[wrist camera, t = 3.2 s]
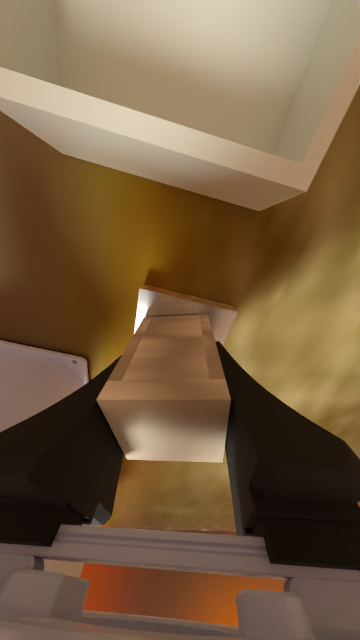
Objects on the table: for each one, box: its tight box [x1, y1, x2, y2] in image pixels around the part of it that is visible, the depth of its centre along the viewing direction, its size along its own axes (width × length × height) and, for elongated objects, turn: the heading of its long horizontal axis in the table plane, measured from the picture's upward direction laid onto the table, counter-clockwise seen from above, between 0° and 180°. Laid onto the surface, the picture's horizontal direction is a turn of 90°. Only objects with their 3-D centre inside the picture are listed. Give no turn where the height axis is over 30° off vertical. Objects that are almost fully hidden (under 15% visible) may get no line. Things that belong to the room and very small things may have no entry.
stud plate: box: [134, 284, 238, 345], centre depth 10 cm, size 7×7×6 cm
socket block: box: [96, 314, 231, 462], centre depth 9 cm, size 5×5×6 cm
